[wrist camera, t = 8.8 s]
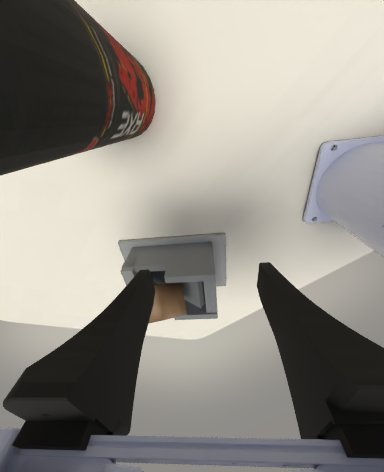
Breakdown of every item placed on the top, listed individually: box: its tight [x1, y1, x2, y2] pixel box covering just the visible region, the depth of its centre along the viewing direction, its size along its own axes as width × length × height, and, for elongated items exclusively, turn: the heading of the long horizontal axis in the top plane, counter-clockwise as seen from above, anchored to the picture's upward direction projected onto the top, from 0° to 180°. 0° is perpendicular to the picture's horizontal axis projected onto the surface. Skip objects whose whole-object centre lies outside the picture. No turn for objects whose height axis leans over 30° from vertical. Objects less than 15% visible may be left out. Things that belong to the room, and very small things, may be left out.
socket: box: [118, 233, 226, 320], centre depth 22 cm, size 13×8×6 cm, turn 96°
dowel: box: [149, 282, 187, 323], centre depth 20 cm, size 4×4×6 cm
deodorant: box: [0, 0, 155, 175], centre depth 9 cm, size 6×6×15 cm
